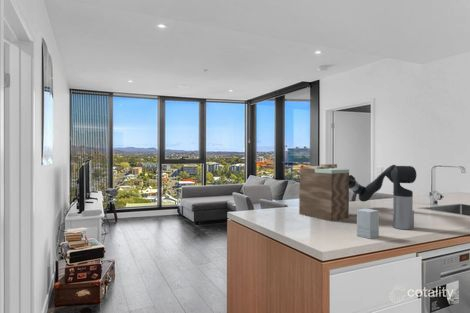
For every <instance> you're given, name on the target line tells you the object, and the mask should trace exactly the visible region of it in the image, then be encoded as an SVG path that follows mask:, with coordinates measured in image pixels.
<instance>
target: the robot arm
mask: <svg viewBox="0 0 470 313" xmlns="http://www.w3.org/2000/svg"><path fill="white" fill-rule="evenodd" d="M417 175H418V174H417V170H416V168H414V166H412V165H396V164H392V165H390V166H388V167H387V168H386V169H385V170H384V171H383V172H381V173H380V174H379V175H378V176H377V177H376V178H375V179H373V180H372V181H371V182H370V183H369V184H367V185H366V186H363V185H361V184H360V183H359V182H358V181H357V180H356V178H355V177H354V176H353V175H352V174H349V191H351V192H353V193H354V194H356V195H358V200H359V201H360V202H363V203H364V202H367V201H369V200H370V199H371V198H372V197H373V196H374V195H375V193H377V192H379V191H380V190H381V188H382V186H383V183H384V179H385V177H386V178H387V179H388V180H389V181H390V182H391V183H393V186H392V187H393V191H392V193H393V194H392V206H393V207H392V227H393V228H394V229H398V230H412V229H414V228H415V210H413V194H414V193H413V191H412V190H410V189H408V188H405V187H403V186H402V185H401V184H412V183H415V181H416V179H417Z"/></svg>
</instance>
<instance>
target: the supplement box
mask: <svg viewBox="0 0 470 313" xmlns="http://www.w3.org/2000/svg"><path fill="white" fill-rule="evenodd" d="M379 213H380V212H379V210H378V209H377V210H376V209H370V208H362V209H361V208H360V209H357V210H356V237H362V238H365V239H369V240H370V239H375V238H379V236H380V235H379V234H380V233H379V232H380V229H379V228H380V226H379V225H380V224H379V223H380V222H379V221H380V220H379V219H380V218H379V217H380V216H379V215H380V214H379Z"/></svg>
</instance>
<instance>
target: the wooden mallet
mask: <svg viewBox="0 0 470 313" xmlns="http://www.w3.org/2000/svg"><path fill="white" fill-rule="evenodd" d="M303 168H309V169H338V164H337V163H334V164H333V163H328V164H327V163H325V164H320V165H315V166H314V165H313V166H312V165H309V166H308V165H307V166H305V165H304V166H303Z"/></svg>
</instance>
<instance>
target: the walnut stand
mask: <svg viewBox="0 0 470 313" xmlns="http://www.w3.org/2000/svg"><path fill="white" fill-rule="evenodd" d="M349 175H350V169H347V168H346V169H345V168H329V169H309V168H304V167H303V168H302V167H300V168H299V189H298V190H299V198H298V200H299V201H298V202H299V203H298V206H299V209H298V210H299V212H298V213H299V214H298V215H302V216H306V217H309V218H313V219H320V220H324V221H327V222H336V221H342V220H348V219H349V214H350V213H349V212H350V209H349V208H350V206H349V205H350V200H349V199H350V189H349Z"/></svg>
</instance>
